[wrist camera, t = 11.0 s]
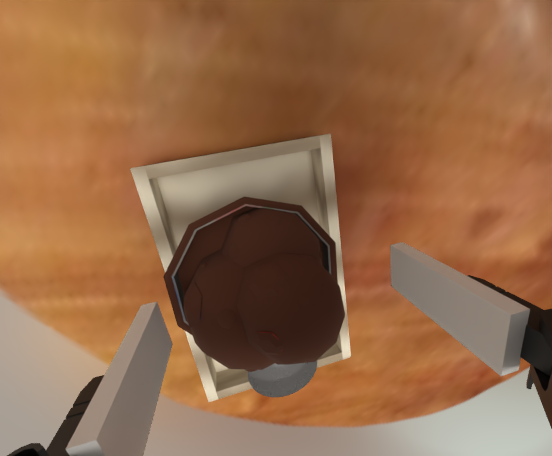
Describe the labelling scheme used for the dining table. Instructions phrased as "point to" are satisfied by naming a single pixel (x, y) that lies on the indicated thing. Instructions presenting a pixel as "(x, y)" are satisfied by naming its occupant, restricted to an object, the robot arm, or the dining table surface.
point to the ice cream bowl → (257, 285)
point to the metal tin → (282, 378)
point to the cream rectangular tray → (228, 188)
